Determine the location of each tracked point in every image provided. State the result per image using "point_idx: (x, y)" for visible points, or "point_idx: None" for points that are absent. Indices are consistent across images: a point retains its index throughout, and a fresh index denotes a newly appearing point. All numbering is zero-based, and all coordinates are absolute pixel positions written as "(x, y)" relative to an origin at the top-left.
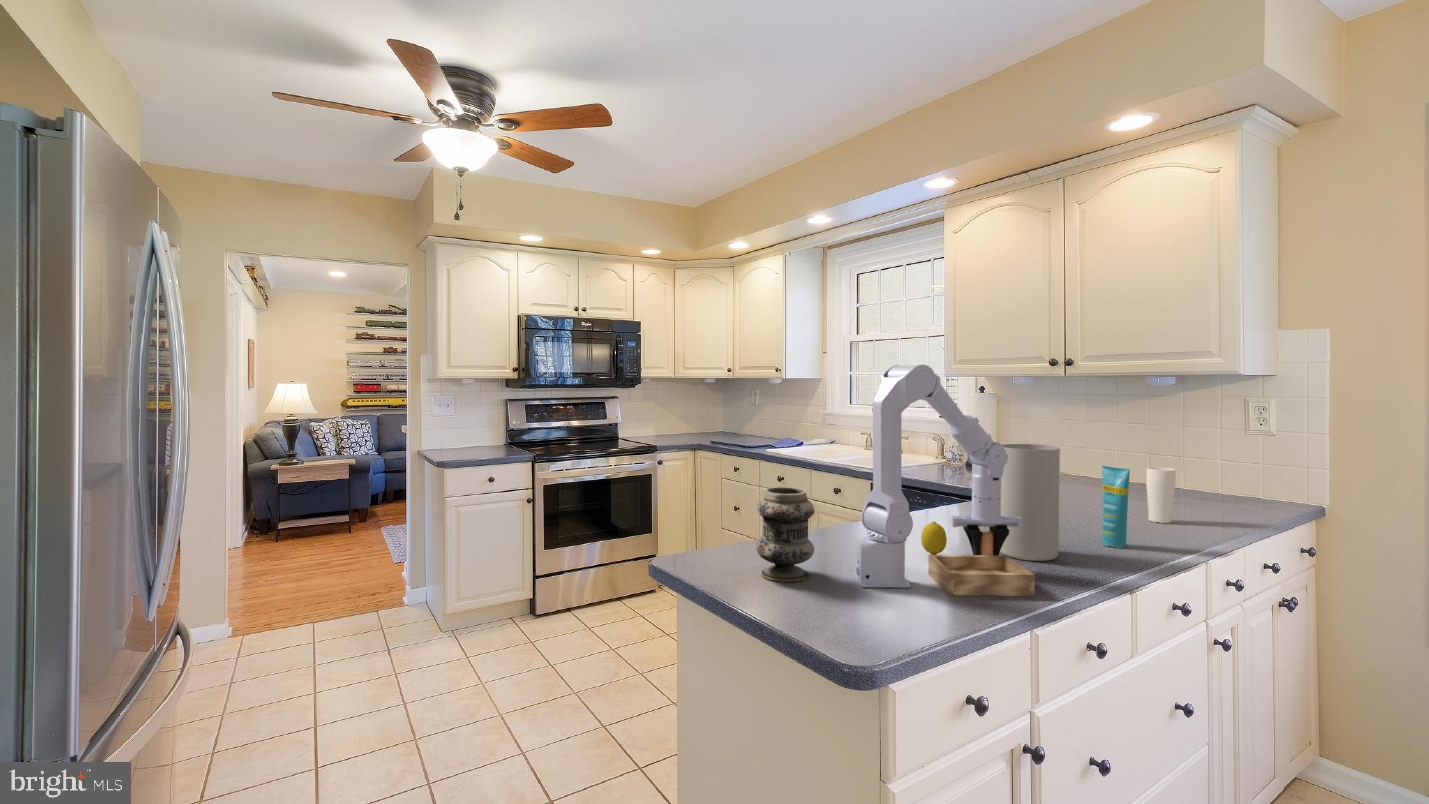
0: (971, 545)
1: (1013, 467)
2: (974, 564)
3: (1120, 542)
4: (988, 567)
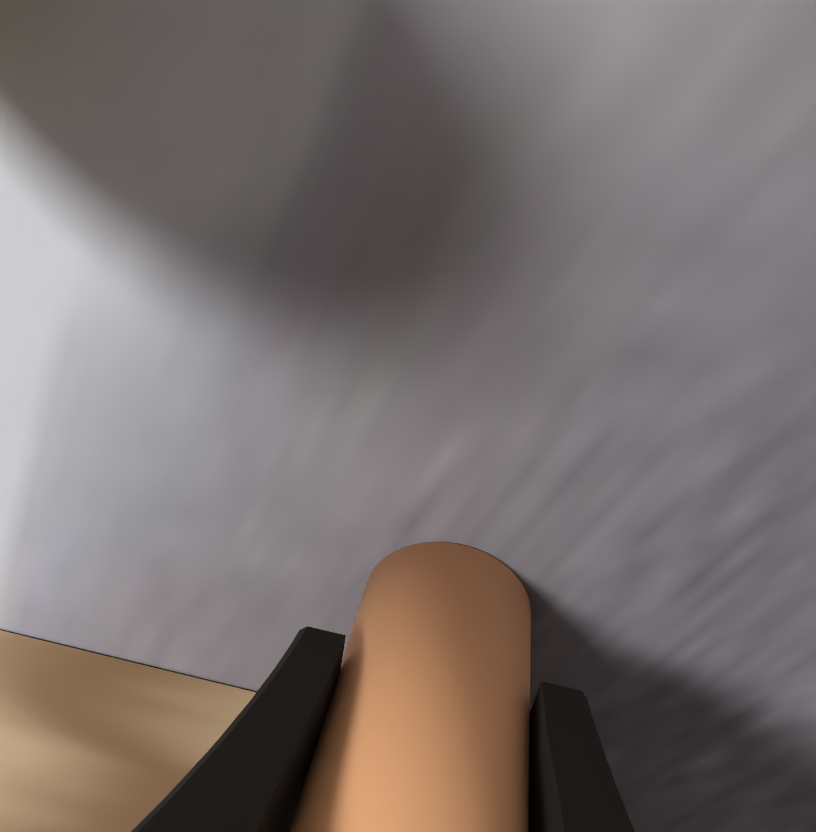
0: (197, 784)
1: None
2: None
3: None
4: None
